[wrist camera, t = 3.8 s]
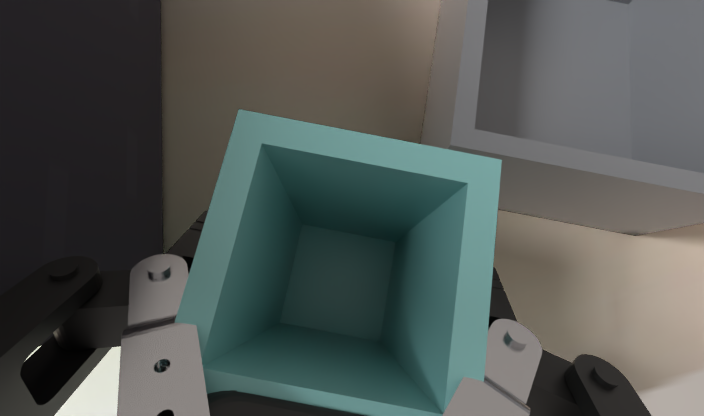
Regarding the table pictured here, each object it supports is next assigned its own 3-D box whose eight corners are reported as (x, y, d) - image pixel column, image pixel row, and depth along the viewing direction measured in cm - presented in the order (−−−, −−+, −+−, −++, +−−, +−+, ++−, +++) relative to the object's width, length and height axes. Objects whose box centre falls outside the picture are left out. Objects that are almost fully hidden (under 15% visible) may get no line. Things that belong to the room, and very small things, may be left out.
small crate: (389, 357, 16) (477, 464, 6) (264, 333, 16) (150, 401, 6) (408, 233, 17) (501, 159, 8) (293, 211, 17) (238, 108, 8)
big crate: (635, 235, 18) (780, 208, 12) (412, 192, 18) (450, 144, 12) (630, 7, 21) (739, -99, 16) (445, -29, 21) (486, -148, 16)
